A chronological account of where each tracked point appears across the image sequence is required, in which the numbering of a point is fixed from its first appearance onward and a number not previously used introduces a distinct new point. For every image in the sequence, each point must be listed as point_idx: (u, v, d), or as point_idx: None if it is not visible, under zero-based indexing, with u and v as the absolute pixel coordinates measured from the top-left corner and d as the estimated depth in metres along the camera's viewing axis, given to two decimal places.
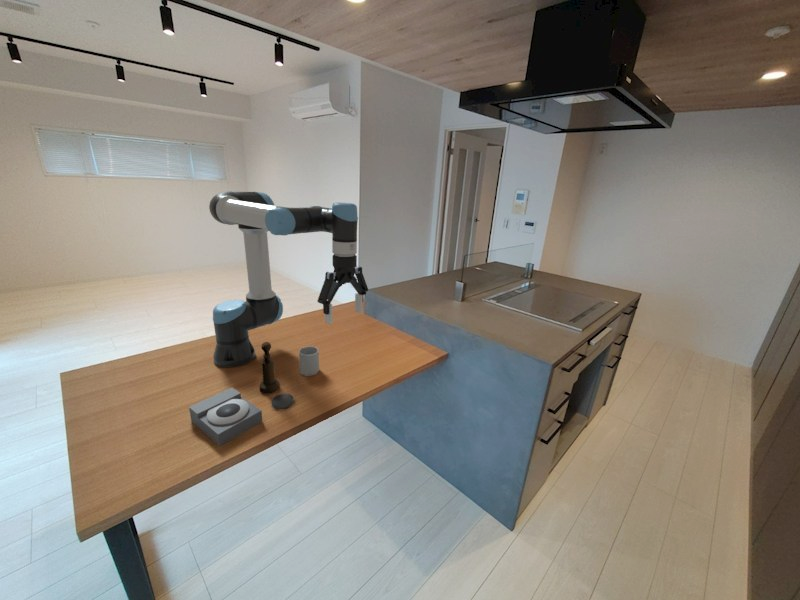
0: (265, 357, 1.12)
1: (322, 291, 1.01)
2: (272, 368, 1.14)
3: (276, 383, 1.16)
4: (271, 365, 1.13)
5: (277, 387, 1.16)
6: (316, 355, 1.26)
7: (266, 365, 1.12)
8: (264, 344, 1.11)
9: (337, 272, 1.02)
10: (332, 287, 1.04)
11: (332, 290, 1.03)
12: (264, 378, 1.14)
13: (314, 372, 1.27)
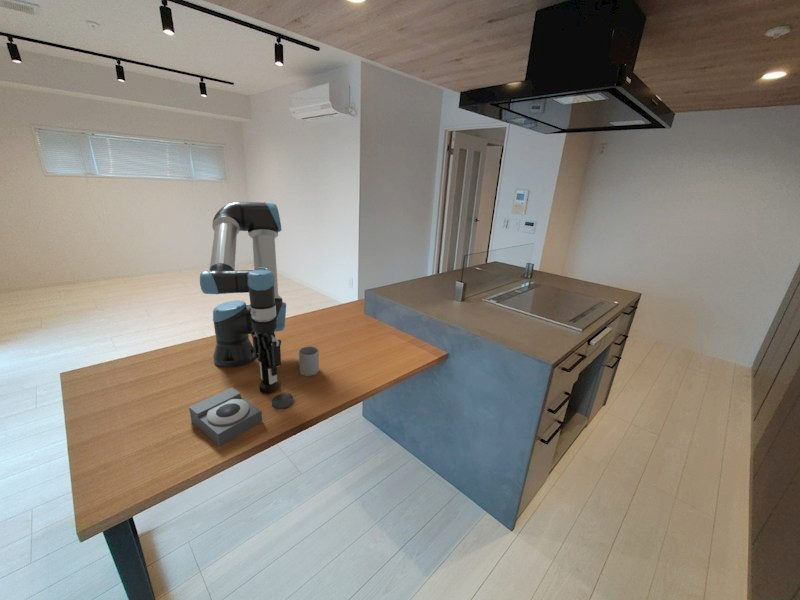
0: (265, 357, 1.12)
1: None
2: None
3: (276, 383, 1.16)
4: None
5: (277, 387, 1.16)
6: (316, 355, 1.26)
7: (266, 365, 1.12)
8: None
9: None
10: None
11: None
12: (264, 378, 1.14)
13: (314, 372, 1.27)
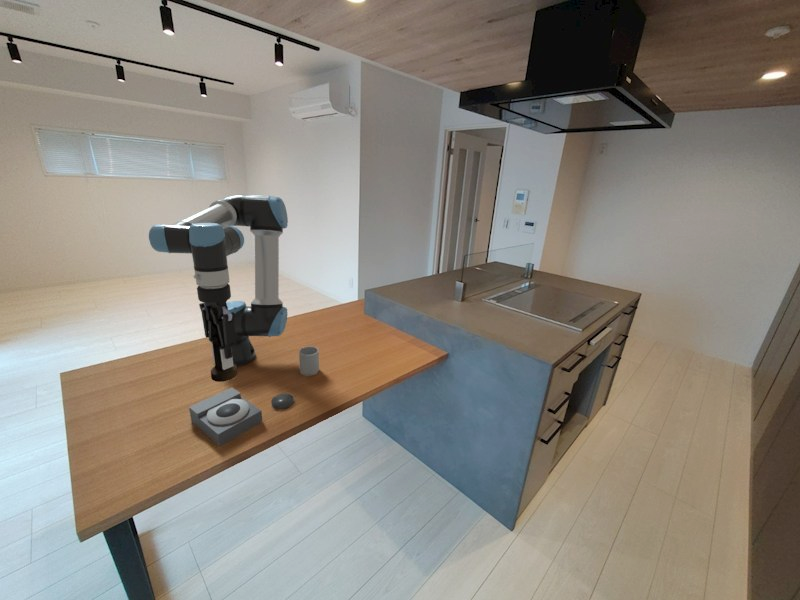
0: (217, 335, 0.90)
1: None
2: None
3: (232, 368, 0.93)
4: None
5: (233, 373, 0.93)
6: (316, 355, 1.26)
7: (218, 345, 0.90)
8: None
9: None
10: None
11: None
12: (216, 362, 0.91)
13: (314, 372, 1.27)
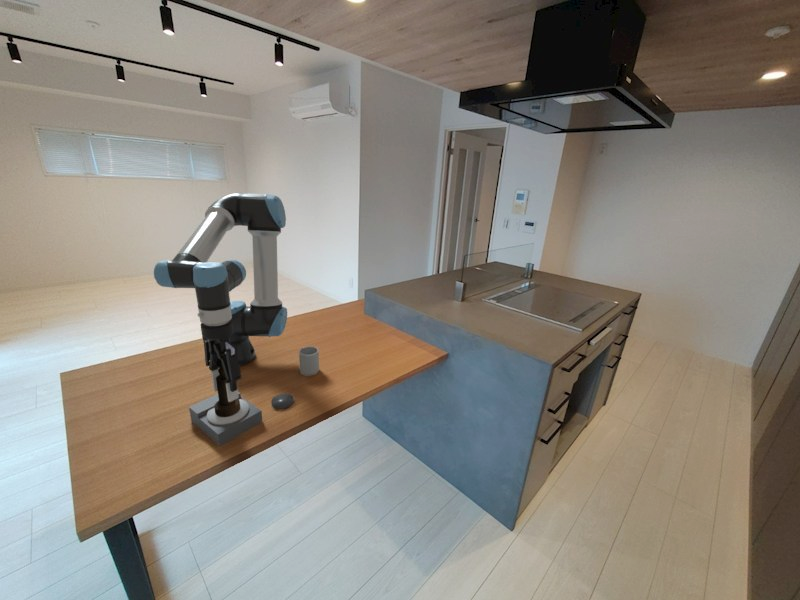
0: (220, 373, 0.93)
1: None
2: None
3: (235, 403, 0.97)
4: None
5: (236, 408, 0.97)
6: (316, 355, 1.26)
7: (221, 382, 0.93)
8: None
9: None
10: None
11: None
12: (220, 397, 0.95)
13: (314, 372, 1.27)
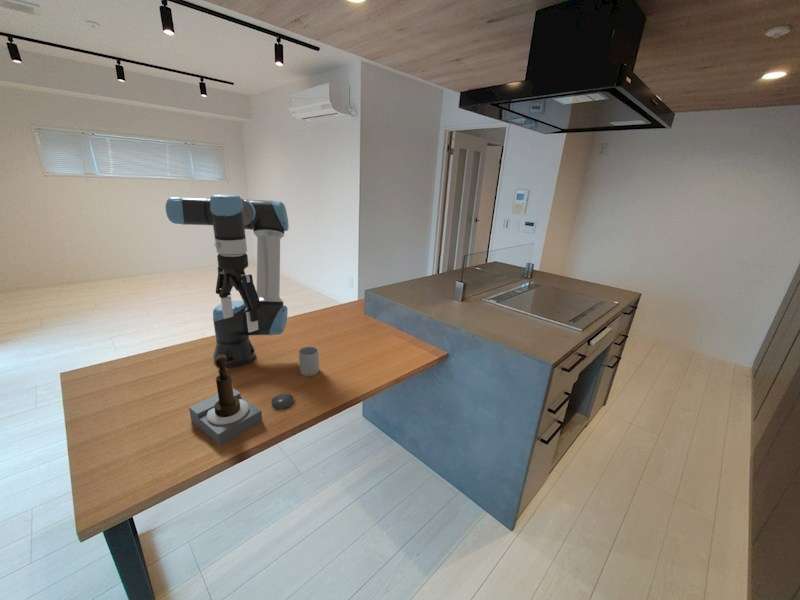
0: (220, 373, 0.93)
1: None
2: (229, 385, 0.95)
3: (235, 403, 0.97)
4: (228, 382, 0.94)
5: (236, 408, 0.97)
6: (316, 355, 1.26)
7: (221, 382, 0.93)
8: (218, 357, 0.92)
9: None
10: None
11: None
12: (220, 397, 0.95)
13: (314, 372, 1.27)
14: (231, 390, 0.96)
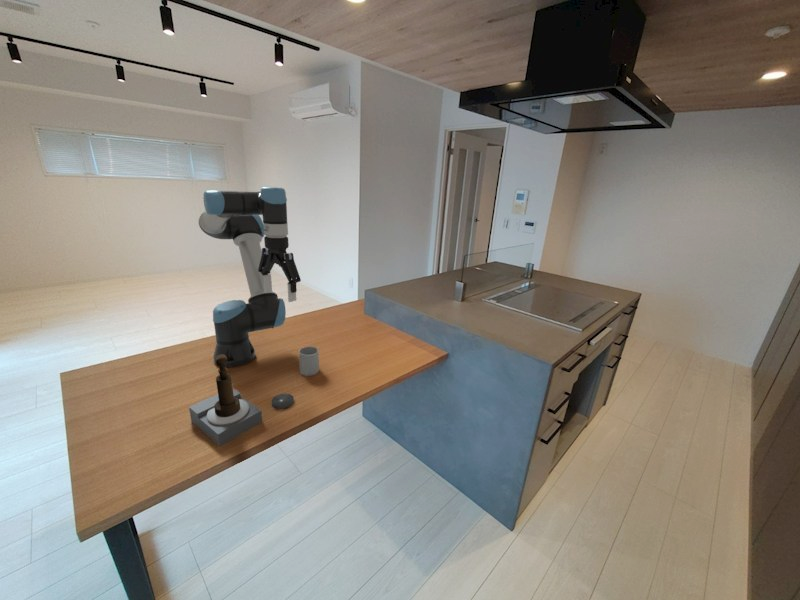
0: (220, 373, 0.93)
1: None
2: (229, 385, 0.95)
3: (235, 403, 0.97)
4: (228, 382, 0.94)
5: (236, 408, 0.97)
6: (316, 355, 1.26)
7: (221, 382, 0.93)
8: (218, 357, 0.92)
9: None
10: None
11: None
12: (220, 397, 0.95)
13: (314, 372, 1.27)
14: (231, 390, 0.96)
